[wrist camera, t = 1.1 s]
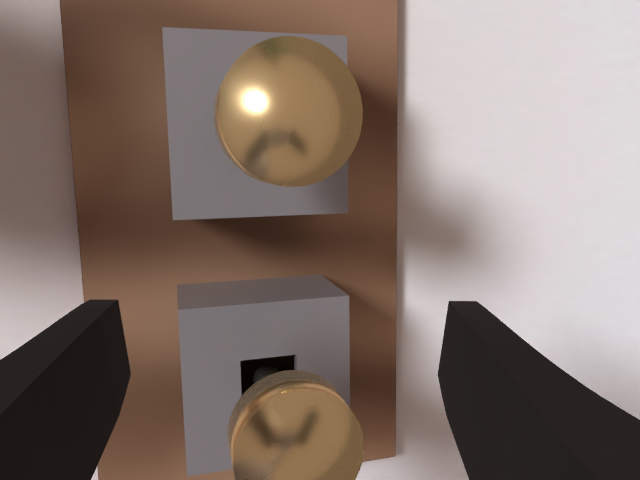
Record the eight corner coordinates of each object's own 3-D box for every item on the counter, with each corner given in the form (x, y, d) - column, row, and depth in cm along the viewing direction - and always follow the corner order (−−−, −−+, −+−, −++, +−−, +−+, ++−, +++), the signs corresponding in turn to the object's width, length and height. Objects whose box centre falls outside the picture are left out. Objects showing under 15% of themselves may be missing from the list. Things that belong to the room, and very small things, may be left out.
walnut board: (390, 450, 26) (395, 456, 25) (102, 496, 23) (100, 505, 22) (392, -11, 23) (397, -15, 22) (59, -34, 20) (56, -40, 19)
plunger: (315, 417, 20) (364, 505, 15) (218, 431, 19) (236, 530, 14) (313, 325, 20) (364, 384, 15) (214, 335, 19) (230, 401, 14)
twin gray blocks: (322, 405, 24) (350, 450, 20) (184, 424, 23) (187, 476, 19) (317, 57, 22) (347, 35, 18) (164, 52, 20) (162, 26, 17)
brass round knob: (310, 179, 19) (363, 184, 14) (207, 181, 18) (221, 188, 13) (309, 74, 19) (362, 39, 13) (202, 71, 18) (215, 32, 12)
